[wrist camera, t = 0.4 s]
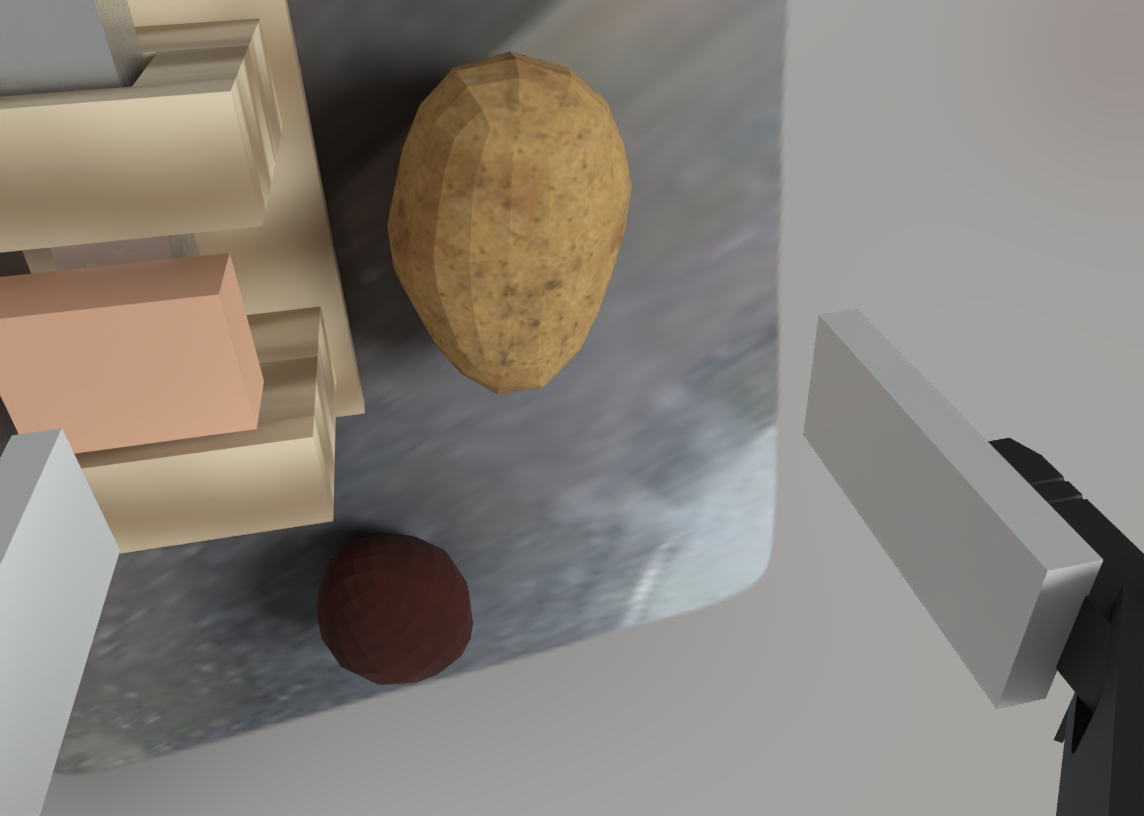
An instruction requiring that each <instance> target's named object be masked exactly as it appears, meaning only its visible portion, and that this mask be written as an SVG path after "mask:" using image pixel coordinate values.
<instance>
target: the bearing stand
mask: <svg viewBox="0 0 1144 816" xmlns="http://www.w3.org/2000/svg"><path fill="white" fill-rule="evenodd" d="M127 2H128V5H129V9H130V12H131V16H132V19H133V23H134V26H135V30H136V33H137V37H138V40H139V44H140V47H141V50H142V54H143V57H144V61H145V64H146V69H145V70H144V71H143V73H142V74H141V75H140V77H139V78H138V79H137V81H136V82H135V83H134V85H133V86H132V87H121V88H108V89H94V90H81V91H68V92H55V93H42V94H29V95H16V96H2V97H0V252H10V251H20V250H22V252H23V254H24V257H25V259H26V261H27V264H28V266H29V269H30V271H31V274H33V273H42V272H52V271H58V268H57V266H56V263H55V261H54V258H53V256H52V253H51V251H50V247H59V246H69V245H79V244H89V243H99V242H109V241H119V240H129V239H139V238H149V237H159V236H169V235H179V234H188V233H194V235H195V238H196V242H197V245H198V249H199V252H200V256H205V255H214V254H224V253H230V256H231V259H232V263H233V267H234V271H235V274H236V278H237V282H238V286H239V289H240V293H241V297H242V301H243V304H244V308H245V312H246V316H247V320H248V323H249V327H250V331H251V335H252V338H253V342H254V346H255V350H256V353H257V357H258V361H259V365H260V368H261V372H262V376H263V380H264V383H263V390H262V397H261V404H260V411H259V417H258V424H257V429H253V430H246V431H238V432H231V433H223V434H216V435H209V436H201V437H194V438H186V439H179V440H171V441H164V442H156V443H149V444H142V445H134V446H127V447H119V448H112V449H104V450H97V451H89V452H82V453H75V454H74V455H75V457H76V459H77V461H78V463H79V465H80V467H81V469H82V471H83V474H84V476H85V478H86V480H87V482H88V484H89V486H90V488H91V490H92V493H93V495H94V497H95V499H96V501H97V503H98V505H99V507H100V509H101V511H102V514H103V516H104V518H105V520H106V522H107V524H108V526H109V528H110V530H111V532H112V535H113V537H114V539H115V541H116V543H117V545H118V547H119V549H120V551H119V553H126V552H132V551H139V550H145V549H152V548H159V547H165V546H172V545H179V544H185V543H192V542H198V541H205V540H212V539H218V538H225V537H231V536H238V535H245V534H251V533H258V532H264V531H271V530H278V529H284V528H291V527H297V526H304V525H311V524H317V523H324V522H330V521H333V502H334V459H335V417H340V416H348V415H355V414H363V413H364V398H363V393H362V388H361V383H360V377H359V372H358V367H357V362H356V356H355V351H354V346H353V341H352V336H351V330H350V325H349V320H348V315H347V310H346V304H345V299H344V294H343V289H342V284H341V278H340V273H339V268H338V263H337V258H336V252H335V247H334V242H333V237H332V232H331V226H330V221H329V216H328V211H327V206H326V200H325V195H324V190H323V185H322V180H321V174H320V169H319V164H318V159H317V154H316V148H315V143H314V138H313V133H312V128H311V122H310V117H309V112H308V107H307V102H306V96H305V91H304V86H303V81H302V75H301V70H300V65H299V60H298V55H297V49H296V44H295V39H294V34H293V29H292V23H291V18H290V13H289V8H288V3H287V0H127Z"/></svg>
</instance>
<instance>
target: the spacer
mask: <svg viewBox="0 0 1144 816" xmlns="http://www.w3.org/2000/svg"><path fill="white" fill-rule="evenodd" d="M263 383H264V380H263V376H262V372H261V368H260V365H259V361H258V357H257V353H256V350H255V346H254V342H253V338H252V335H251V331H250V327H249V323H248V320H247V316H246V312H245V308H244V304H243V301H242V297H241V293H240V289H239V286H238V282H237V278H236V274H235V271H234V267H233V263H232V259H231V256H230V253H224V254H214V255H205V256H195V257H186V258H176V259H167V260H157V261H147V262H138V263H128V264H119V265H109V266H100V267H90V268H81V269H71V270H61V271H52V272H42V273H33V274H23V275H14V276H4V277H0V396H1V398H2V400H3V402H4V404H5V406H6V408H7V410H8V412H9V415H10V417H11V419H12V421H13V423H14V425H15V427H16V429H17V431H18V434H26V433H33V432H39V431H46V430H53V429H59V428H62V429H63V432H64V434H65V436H66V438H67V440H68V442H69V444H70V446H71V448H72V450H73V453H74V454H75V453H82V452H89V451H97V450H104V449H112V448H119V447H127V446H134V445H142V444H149V443H156V442H164V441H171V440H179V439H186V438H194V437H201V436H209V435H216V434H223V433H231V432H238V431H246V430H253V429H257V424H258V417H259V411H260V404H261V397H262V390H263Z"/></svg>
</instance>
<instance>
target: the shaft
mask: <svg viewBox="0 0 1144 816" xmlns="http://www.w3.org/2000/svg"><path fill="white" fill-rule="evenodd" d="M145 69H146V64H145V61H144V57H143V54H142V50H141V47H140V44H139V40H138V37H137V33H136V30H135V26H134V23H133V19H132V16H131V12H130V9H129V5H128V2H127V0H0V97H2V96H16V95H29V94H42V93H55V92H68V91H81V90H94V89H108V88H121V87H132V86H133V85H134V83H135V82H136V81H137V79H138V78H139V77H140V75H141V74H142V73H143V71H144V70H145ZM50 251H51V253H52V256H53V258H54V261H55V263H56V266H57V268H58V271H61V270H71V269H81V268H90V267H100V266H109V265H119V264H128V263H138V262H147V261H157V260H167V259H176V258H186V257H195V256H200V252H199V249H198V245H197V242H196V238H195V235H194V233H188V234H179V235H169V236H159V237H149V238H139V239H129V240H119V241H109V242H99V243H89V244H79V245H69V246H59V247H50Z"/></svg>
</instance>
